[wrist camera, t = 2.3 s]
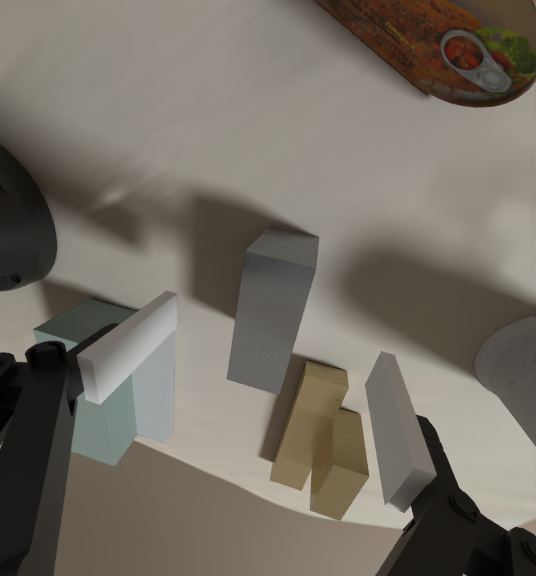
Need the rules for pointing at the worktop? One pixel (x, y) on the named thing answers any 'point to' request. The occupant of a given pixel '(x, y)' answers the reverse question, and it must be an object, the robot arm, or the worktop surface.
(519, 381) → the grey mug
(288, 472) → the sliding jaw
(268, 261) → the steel block
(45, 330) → the block
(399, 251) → the worktop surface
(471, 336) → the worktop surface
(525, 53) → the tin
